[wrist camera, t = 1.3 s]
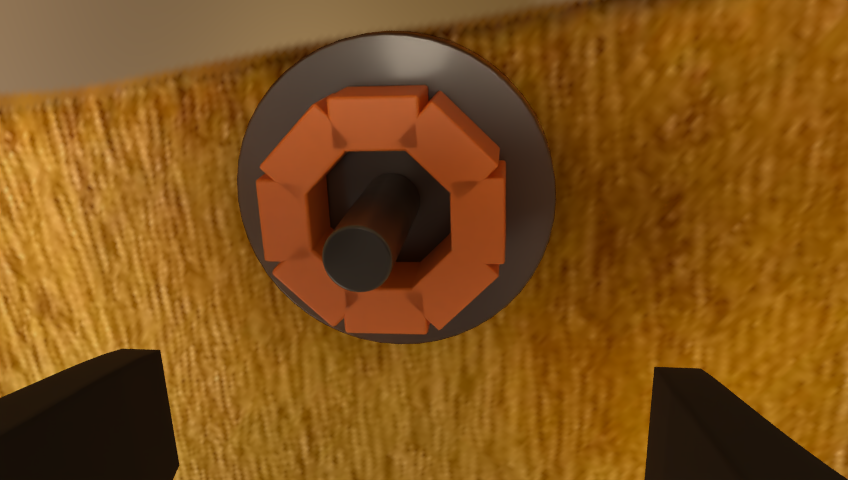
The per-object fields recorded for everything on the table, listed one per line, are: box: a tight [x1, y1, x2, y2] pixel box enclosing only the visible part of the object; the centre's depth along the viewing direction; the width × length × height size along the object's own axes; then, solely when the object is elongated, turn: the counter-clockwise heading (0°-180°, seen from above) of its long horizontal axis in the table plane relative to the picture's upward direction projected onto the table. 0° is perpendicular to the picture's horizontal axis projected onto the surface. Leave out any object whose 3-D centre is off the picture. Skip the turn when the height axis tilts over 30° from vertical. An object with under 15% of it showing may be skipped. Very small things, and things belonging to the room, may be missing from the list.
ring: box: [256, 85, 506, 334], centre depth 17 cm, size 6×6×2 cm
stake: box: [237, 31, 556, 344], centre depth 16 cm, size 8×8×5 cm
